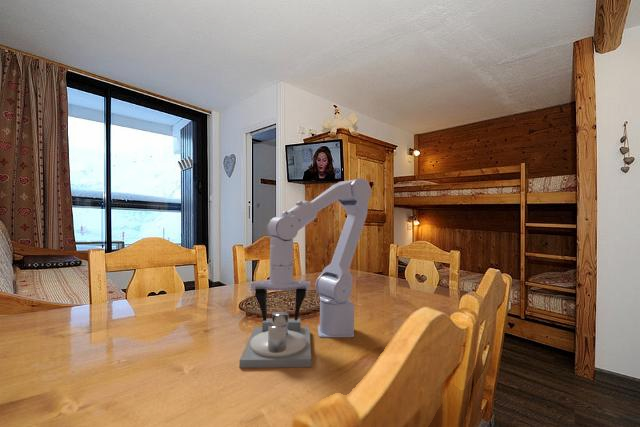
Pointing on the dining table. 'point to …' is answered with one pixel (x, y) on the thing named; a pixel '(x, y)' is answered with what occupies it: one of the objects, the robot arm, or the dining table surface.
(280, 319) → the cylinder
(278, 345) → the cylinder
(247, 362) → the scale
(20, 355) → the dining table surface
